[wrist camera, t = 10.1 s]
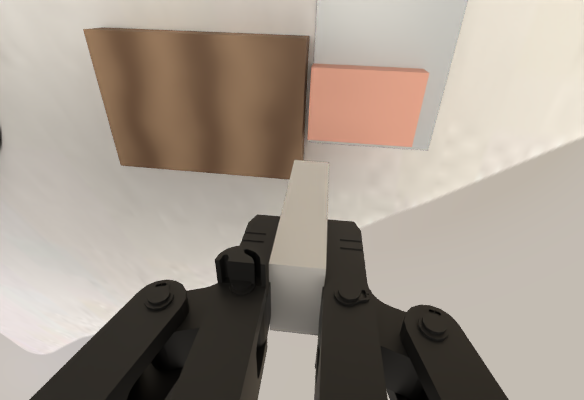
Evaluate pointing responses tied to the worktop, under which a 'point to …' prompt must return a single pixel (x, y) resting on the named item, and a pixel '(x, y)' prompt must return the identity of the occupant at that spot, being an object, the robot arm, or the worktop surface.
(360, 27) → the mat
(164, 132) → the deck
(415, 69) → the card
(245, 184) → the worktop surface
